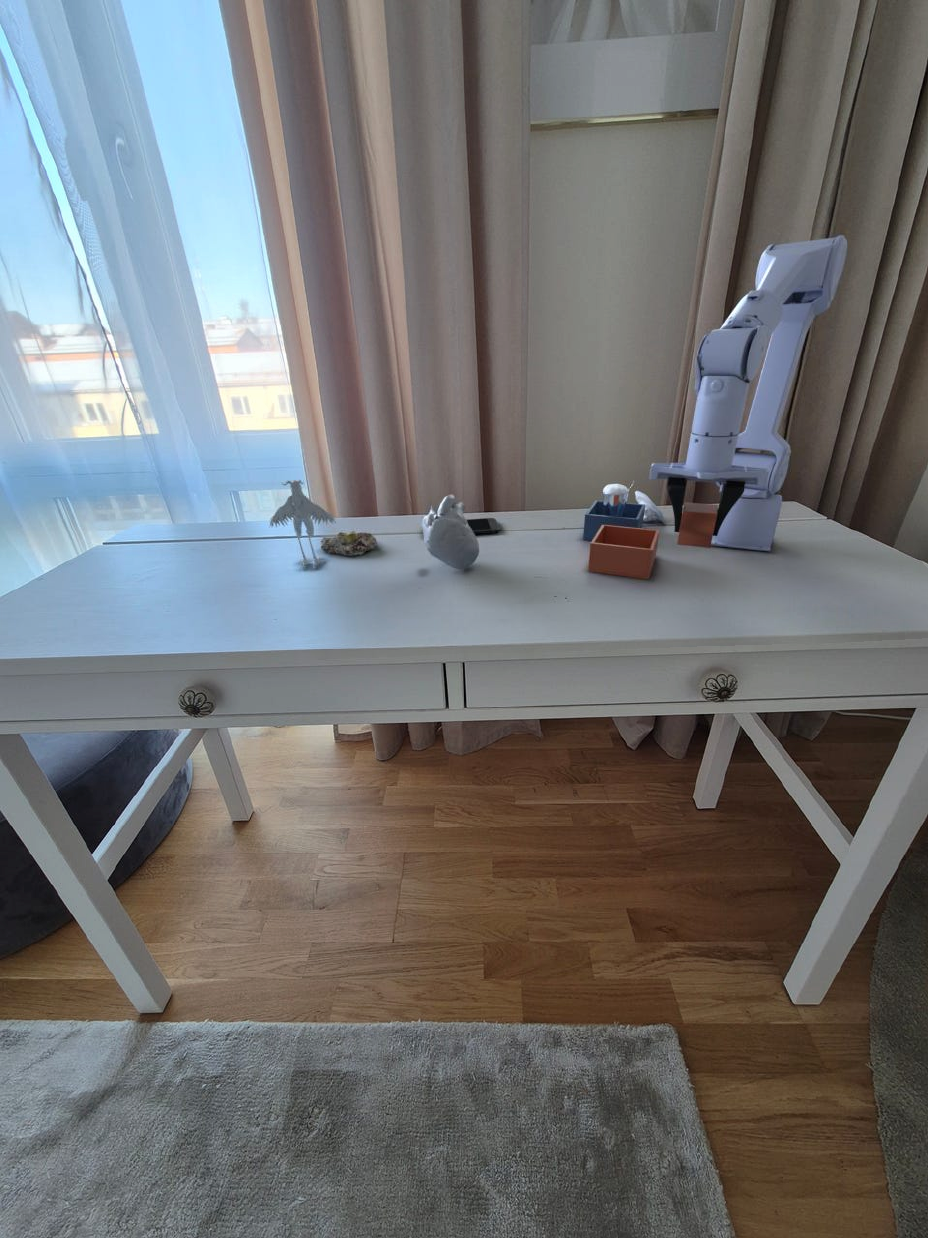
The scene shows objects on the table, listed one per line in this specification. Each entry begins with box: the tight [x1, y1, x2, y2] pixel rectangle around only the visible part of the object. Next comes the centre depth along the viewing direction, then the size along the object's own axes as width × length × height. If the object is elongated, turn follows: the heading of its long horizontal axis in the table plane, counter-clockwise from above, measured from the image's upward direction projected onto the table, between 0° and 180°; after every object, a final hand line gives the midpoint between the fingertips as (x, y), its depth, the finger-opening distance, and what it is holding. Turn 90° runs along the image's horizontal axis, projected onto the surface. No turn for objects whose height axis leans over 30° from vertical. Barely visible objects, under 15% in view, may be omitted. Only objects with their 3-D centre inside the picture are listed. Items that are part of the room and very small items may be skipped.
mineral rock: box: [320, 530, 378, 557], centre depth 95 cm, size 11×4×8 cm
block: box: [676, 502, 719, 549], centre depth 72 cm, size 4×4×5 cm
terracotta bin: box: [587, 525, 661, 580], centre depth 83 cm, size 10×10×5 cm
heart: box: [421, 493, 480, 570], centre depth 84 cm, size 10×10×12 cm
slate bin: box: [582, 500, 645, 542], centre depth 96 cm, size 10×10×5 cm
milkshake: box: [602, 479, 635, 517], centre depth 94 cm, size 4×5×10 cm
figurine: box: [269, 479, 337, 571], centre depth 86 cm, size 11×4×15 cm, turn 95°
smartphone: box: [466, 517, 501, 535], centre depth 102 cm, size 7×15×1 cm, turn 95°
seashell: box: [634, 490, 666, 523], centre depth 102 cm, size 8×5×8 cm
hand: (695, 531), depth 73 cm, fingers closed on block, 4 cm apart
